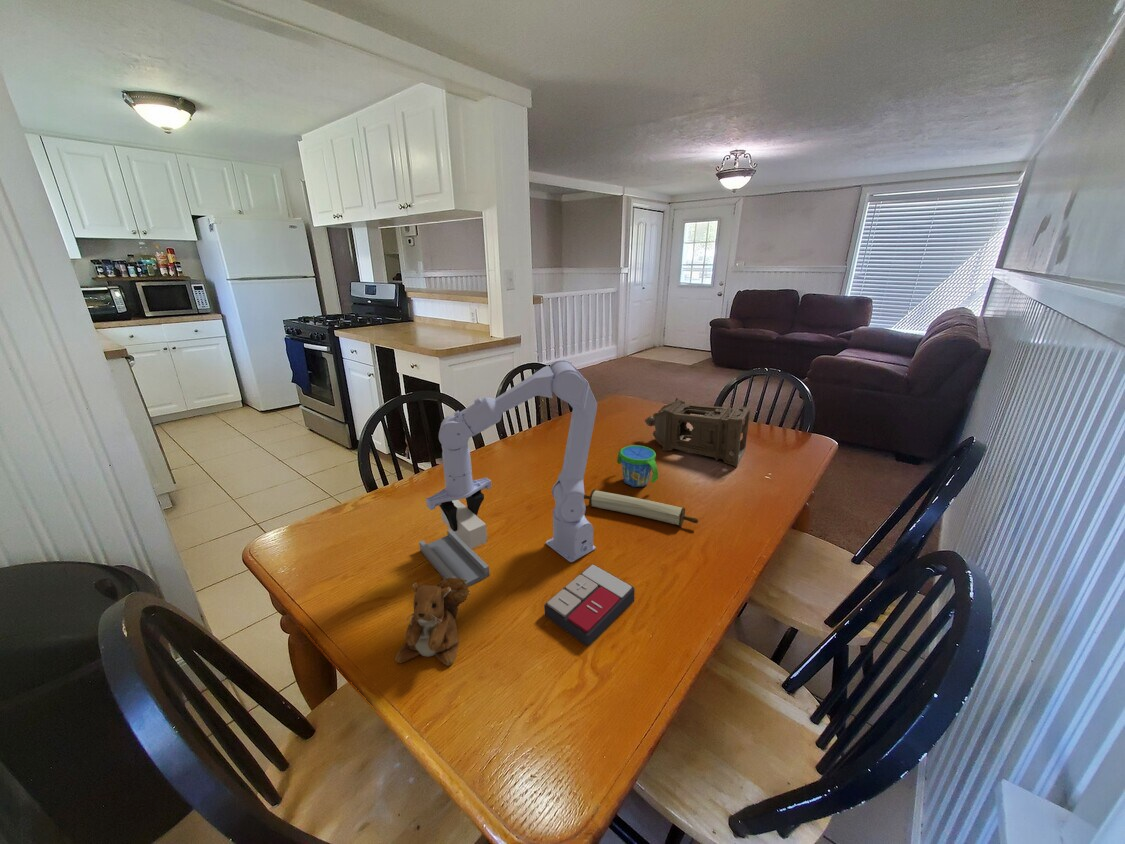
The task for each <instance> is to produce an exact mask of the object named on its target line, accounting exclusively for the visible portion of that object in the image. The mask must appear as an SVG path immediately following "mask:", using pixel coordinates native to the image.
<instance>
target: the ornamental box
mask: <svg viewBox="0 0 1125 844" xmlns="http://www.w3.org/2000/svg"><path fill="white" fill-rule="evenodd" d="M750 415H751V406H750V405H749V406H737V407H735V408H734V409H733V408H732V407H731V406H730V404H728V406H727V407H725V406H724V407H722V406H713V405H711V406H709V405H702V404H701V405H699V404H691V403H686V401H683V400H682V399H680V398H679V397H676V398H675V400H674V402H671V403H668V404H666V405H663V406H662V407H661V408H660V409H659V410H658V412H654V413H653V414H652V415H649V416H648V417H647V418H645V419H644V422H645V423H646V425H647V427H654V428H655V429H654V430H653V432H652V436H653V437H654V439H655V441H656V442H657V443H658V445H660V446H662V448H661V451H663V452H667V451H668V452H669V451H673V449H674V450H678V451H684V452H689V453H693V454H696V455H697V454H698V455H700V456H705V457H710V458H714V459H715V461H716V462H718V460H720V459H721V460H722V461H723V463H725V464H728V465H731V466H733V467H734V468H738V466H739V463H741V460H742V458H743V455H744V453H745V452H746V448H747V447H746V446H747V440H748V439H747V437H748V431H749V430H748V429H749V423H750ZM687 424H690V425H691V427H692V429H691V430H690V427H688V426H687ZM741 437H742V438H741ZM687 439H689V440H687Z"/></svg>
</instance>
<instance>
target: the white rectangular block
mask: <svg viewBox="0 0 1125 844" xmlns="http://www.w3.org/2000/svg"><path fill="white" fill-rule="evenodd" d="M452 502H453V503H454V506H456V507H457V515H456V520H457V531H453V530H452V529H451V528H450V525H449V522H448V519H447V517H446V515H445V514H444V512H443V510H442V509H441V508H440V516H441V521H442V522H443V523H444V524H445V525H446V526H447V527H448V529H451V530H452V531H453V532H454V533H455V534H456V535H457V536H458V537H459V538H460V539H461V540H462V541H463V542H464V543H465V544H466V545H467V546H468V547H469V548H470V549H472V550H473V549H475V548H477V547H480V546H481V545H484V544H486V543H488V532H487V531H488V530H487V523H485V522H484V521H483V520H481V518H480V517H478V515H477V516H476V515H475V514H474V513H473V512H472V511H470V510H469V509H468V508H467V505H465V504H463V502H461V501H460V499H459V500H453V501H452Z"/></svg>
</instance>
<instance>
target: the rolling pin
mask: <svg viewBox="0 0 1125 844" xmlns="http://www.w3.org/2000/svg"><path fill="white" fill-rule="evenodd" d="M584 500H588V505H589V507H590V508H593V507H594V508H598V509H604V510H609V511H614V512H619V513H623V514H628V515H633V516H638V517H643V518H646V519H649V520H650V519H651V520H655V521H659V522H664V523H668V524H672V525H676V526H679V527H680V528H682V527H683V524H684V521H688V522H690V523H693V524H698V523H699V519H698V518H697V517H691V516H687V515H686V508H685V507H680V506H675V505H671V504H667V503H662V502H658V501H653V500H649V499H644V498H639V497H634V496H629V495H623V494H618V493H612V492H606V491H601V490H597V489H596V488H594V489H592V490H591V492H590V494H589V495H588V494H584ZM685 515H686V516H685Z"/></svg>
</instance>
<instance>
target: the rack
mask: <svg viewBox="0 0 1125 844" xmlns="http://www.w3.org/2000/svg"><path fill="white" fill-rule="evenodd" d="M446 532H447V535H444V536H443V537H441V538H439V539H436V540H433V541H431V542H429V543H427V542H426V541H425V540H424V539H423V540H420V541H419V542H418V543H419V549H420V552H421V553H422V554H423V556H424V557H425V558H426V559H427V560H428V561H429V563H430V564H431V565H432V567H434V569H435V570H436V571H437V572H438V573H439V575H440V576H441V577H442V578H443V579H447V578H450V577H451V578H459V577H460V578H461V579H462V580H463V579H464V580H467V582H465V583H466V584H468V585H467V587H468V588H469V587H470V586H472V585H474V584H476V583H478V582H480V581H483V580H484V579H486V578H488V577H490V565H488V564H487V563H486V562H485V561H484V560H483V559H482V558H481V557H480V556H479V554H477V553H476V552H475V551H474V550H473V549H470V548H469V547H468V546H467V545H466V544H465V543H464V542H463V541H462V540H461V539H460V538H459V537H458V536H457V535H456V534H455V533H454V532H453V531H452V530H451V529H450V528H448V529H447V530H446Z"/></svg>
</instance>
